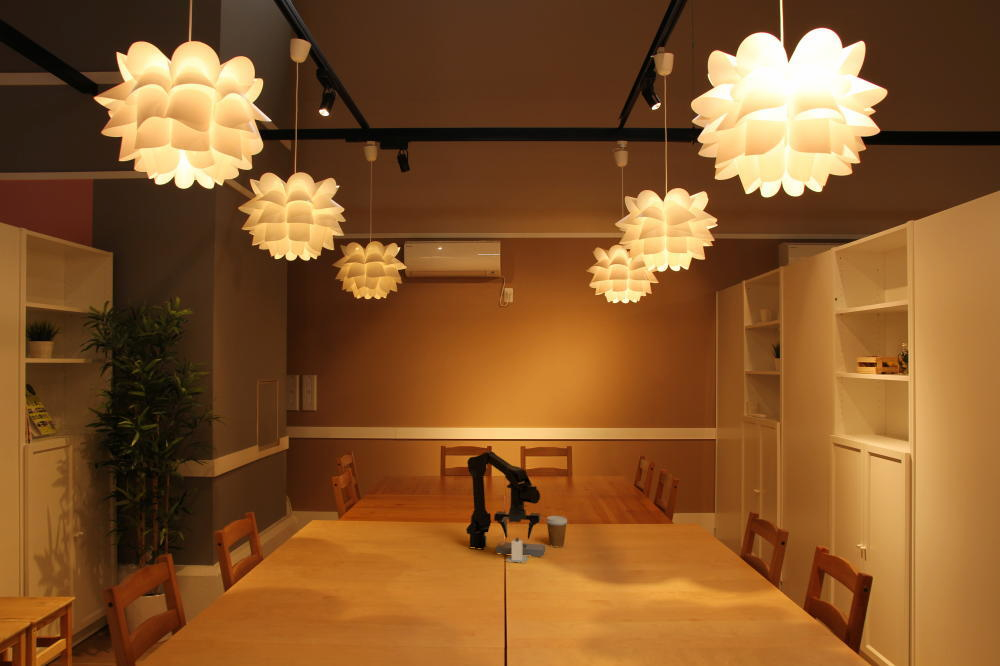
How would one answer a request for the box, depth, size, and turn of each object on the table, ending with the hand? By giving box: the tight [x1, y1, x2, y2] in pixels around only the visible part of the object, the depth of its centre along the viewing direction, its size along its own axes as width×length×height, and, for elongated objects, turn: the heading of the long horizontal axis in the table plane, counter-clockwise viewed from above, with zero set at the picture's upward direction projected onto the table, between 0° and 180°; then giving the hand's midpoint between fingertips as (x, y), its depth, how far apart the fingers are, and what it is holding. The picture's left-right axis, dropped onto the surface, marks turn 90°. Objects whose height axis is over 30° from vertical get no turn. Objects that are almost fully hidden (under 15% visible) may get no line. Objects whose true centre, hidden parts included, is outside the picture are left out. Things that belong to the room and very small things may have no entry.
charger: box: [511, 537, 524, 560], centre depth 251 cm, size 4×4×8 cm
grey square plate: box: [505, 555, 529, 563], centre depth 251 cm, size 8×8×1 cm
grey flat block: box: [495, 541, 546, 557], centre depth 260 cm, size 20×8×4 cm, turn 79°
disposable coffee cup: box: [545, 515, 568, 547], centre depth 272 cm, size 10×10×12 cm
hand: (517, 538), depth 251 cm, fingers open, 9 cm apart
